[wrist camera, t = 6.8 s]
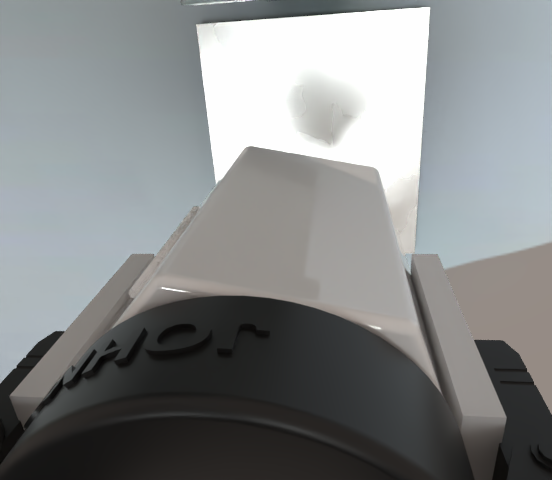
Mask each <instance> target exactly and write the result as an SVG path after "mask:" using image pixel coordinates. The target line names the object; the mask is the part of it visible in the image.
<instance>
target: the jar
mask: <svg viewBox="0 0 552 480" xmlns="http://www.w3.org/2000/svg"><path fill="white" fill-rule="evenodd" d="M129 295H130V299H129V300H128V302H127V303H126V304H125V306H124V307H123V308H122V310H121V311H120V312H119V314H118V315H117V316H116V318H115V319H114V321H113V322H112V323H111V325H110V326H109V327H108V329H107V330H106V331H105V333H104V334H103V335H102V336H101V337H100V338H99V339H98V340H97V341H96V342H95V343H94V344H93V345H91V346H90V347H89V349H88V350H87V351H86V352H85V353H84V354H83V355H82V357H81V358H80V359H79V361H78V362H77V363H76V365H75V366H73V365H72V366H71V367H70V368H69V369H68V370H67V371H66V372H65V373H64V374H63V376H62V377H61V378H60V380H59V381H58V382H56V383H55V385H54V386H53V387H52V388H51V390H50V391H49V393H48V394H47V396H45V398H44V399H43V400H42V401H41V403H40V404H39V405H38V407H37V408H36V409H35V411H34V412H33V413H32V414H31V416H30V417H29V419H28V420H27V421H26V423H25V425H24V427H23V428H25V430H24V432H23V433H22V434H21V436H20V437H19V438H18V440H17V441H16V444H15V445H14V447H13V448H12V449H11V451H10V452H9V453H8V455H7V456H6V457H5V459H4V460H3V462H2V463H1V465H0V480H475V479H474V476H473V472H472V469H471V466H470V462H469V459H468V455H467V452H466V449H465V445H464V442H463V438H462V435H461V432H460V429H459V426H458V423H457V421H456V419H455V417H454V415H453V412H452V410H451V409H450V407H449V405H448V403H447V402H446V399H445V396H444V392H443V389H442V385H441V381H440V378H439V374H438V371H437V367H436V364H435V360H434V356H433V353H432V349H431V346H430V342H429V339H428V335H427V332H426V328H425V324H424V321H423V317H422V314H421V310H420V307H419V303H418V299H417V296H416V292H415V289H414V285H413V282H412V278H411V270H410V267H409V264H408V261H407V258H406V255H405V252H404V248H403V245H402V242H401V239H400V236H399V233H398V230H397V226H396V223H395V220H394V217H393V214H392V211H391V208H390V205H389V201H388V198H387V195H386V192H385V189H384V186H383V183H382V180H381V176H380V173H379V171H378V170H377V169H376V168H374V167H371V166H365V165H359V164H354V163H348V162H342V161H336V160H331V159H325V158H319V157H313V156H308V155H302V154H296V153H290V152H284V151H279V150H273V149H267V148H262V147H256V146H247V147H245V148H244V149H243V150H242V151H241V153H240V154H239V155H238V156H237V158H236V159H235V160H234V162H233V163H232V164H231V165H230V167H229V168H228V169H227V171H226V172H225V173H224V174H223V176H222V177H221V178H220V180H219V181H218V182H217V184H216V185H215V186H214V187H213V189H212V190H211V191H210V193H209V194H208V195H207V196H206V198H205V199H204V200H203V202H202V203H201V204H200V205H199V206H194V207H193V208H192V209H191V210H190V212H189V213H188V214H187V215H186V217H185V218H184V219H183V221H182V222H181V223H180V225H179V226H178V227H177V229H176V230H175V231H174V233H173V234H172V235H171V236H170V238H169V239H168V240H167V242H166V243H165V244H164V245H163V247H162V248H161V249H160V251H159V252H158V253H157V255H156V256H155V257H154V259H153V260H152V261H151V262H150V264H149V265H148V266H147V268H146V269H145V270H144V272H143V273H142V274H141V276H140V277H139V278H138V279H137V281H136V282H135V283H134V285H133V286H132V287H131V289H130V290H129Z"/></svg>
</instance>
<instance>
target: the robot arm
mask: <svg viewBox="0 0 552 480" xmlns="http://www.w3.org/2000/svg"><path fill="white" fill-rule="evenodd" d="M153 259H154V254H132V255H131V256H130V257H129V258H128V259H127V260H126V262H125V263H124V264H123V265H122V266H121V267H120V269H119V270H118V271H117V272H116V273H115V274H114V275H113V277H112V278H111V279H110V280H109V281H108V282H107V284H106V285H105V286H104V287H103V288H102V289H101V291H100V292H99V293H98V294H97V295H96V296H95V297H94V299H93V300H92V301H91V302H90V303H89V304H88V306H87V307H86V308H85V309H84V310H83V311H82V313H81V314H80V315H79V316H78V317H77V318H76V319H75V321H74V322H73V323H72V324H71V325H70V326H69V328H68V329H67V330H66V331H55V332H53V333H52V334H50V335H49V336H47V337H46V338H44V339H43V340H41V341H40V342H38V343H37V344H36V345H35V346H34V348H33V349H32V350H31V351H30V352H29V353H28V354H27V355H26V358H23V359H22V361H21V362H20V363H19V364H18V365H17V368H16V369H13V370H12V371H11V373H10V374H9V375H8V376H7V377H6V378H5V379H4V380H3V381H2V382H1V383H0V465H1V463H2V462H3V460H4V459H5V457H6V456H7V455H8V453H9V452H10V451H11V449H12V448H13V447H14V445H15V444H16V441H17V440H18V438H19V437H20V436H21V434H22V433H23V432H24V430H25V428H23V427H24V425H25V423H26V421H27V420H28V419H29V417H30V416H31V414H32V413H33V412H34V411H35V409H36V408H37V407H38V405H39V404H40V403H41V401H42V400H43V399H44V398H45V396H47V394H48V393H49V391H50V390H51V388H52V387H53V386H54V385H55V383H56V382H58V381H59V380H60V378H61V377H62V376H63V374H64V373H65V372H66V371H67V370H68V369H69V368H70V367H71V366H72V365H73V366H75V365H76V363H77V362H78V361H79V359H80V358H81V357H82V355H83V354H84V353H85V352H86V351H87V350H88V349H89V347H90V346H91V345H93V344H94V343H95V342H96V341H97V340H98V339H99V338H100V337H101V336H102V335H103V334H104V333H105V331H106V330H107V329H108V327H109V326H110V325H111V323H112V322H113V321H114V319H115V318H116V316H117V315H118V314H119V312H120V311H121V310H122V308H123V307H124V306H125V304H126V303H127V302H128V300H129V299H130V295H129V290H130V289H131V287H132V286H133V285H134V283H135V282H136V281H137V279H138V278H139V277H140V276H141V274H142V273H143V272H144V270H145V269H146V268H147V266H148V265H149V264H150V262H151V261H152V260H153ZM411 278H412V282H413V285H414V289H415V292H416V296H417V299H418V303H419V307H420V310H421V314H422V317H423V321H424V324H425V328H426V332H427V335H428V339H429V342H430V346H431V349H432V353H433V356H434V360H435V364H436V367H437V371H438V374H439V378H440V381H441V385H442V389H443V392H444V396H445V399H446V402H447V403H448V405H449V407H450V409H451V410H452V412H453V415H454V417H455V419H456V421H457V423H458V426H459V429H460V432H461V435H462V438H463V442H464V445H465V449H466V452H467V455H468V459H469V462H470V466H471V469H472V472H473V476H474V479H475V480H552V415H551V413H550V411H549V409H548V407H547V405H546V404H545V402H544V400H543V398H542V396H541V394H540V392H539V391H538V389H537V387H536V385H534V381H533V379H532V378H531V376H530V374H529V373H528V372H527V368H526V366H525V365H524V363H523V361H522V359H521V357H520V355H519V354H518V353H517V352H516V351H514V350H513V349H512V348H511V347H510V346H509V345H508V344H506V343H505V342H504V341H501V340H474V339H473V337H472V335H471V332H470V330H469V328H468V325H467V323H466V321H465V318H464V316H463V313H462V311H461V309H460V306H459V304H458V302H457V299H456V297H455V295H454V292H453V290H452V287H451V285H450V283H449V280H448V278H447V276H446V273H445V271H444V269H443V266H442V264H441V261H440V259H439V257H438V254H412V261H411Z"/></svg>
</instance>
